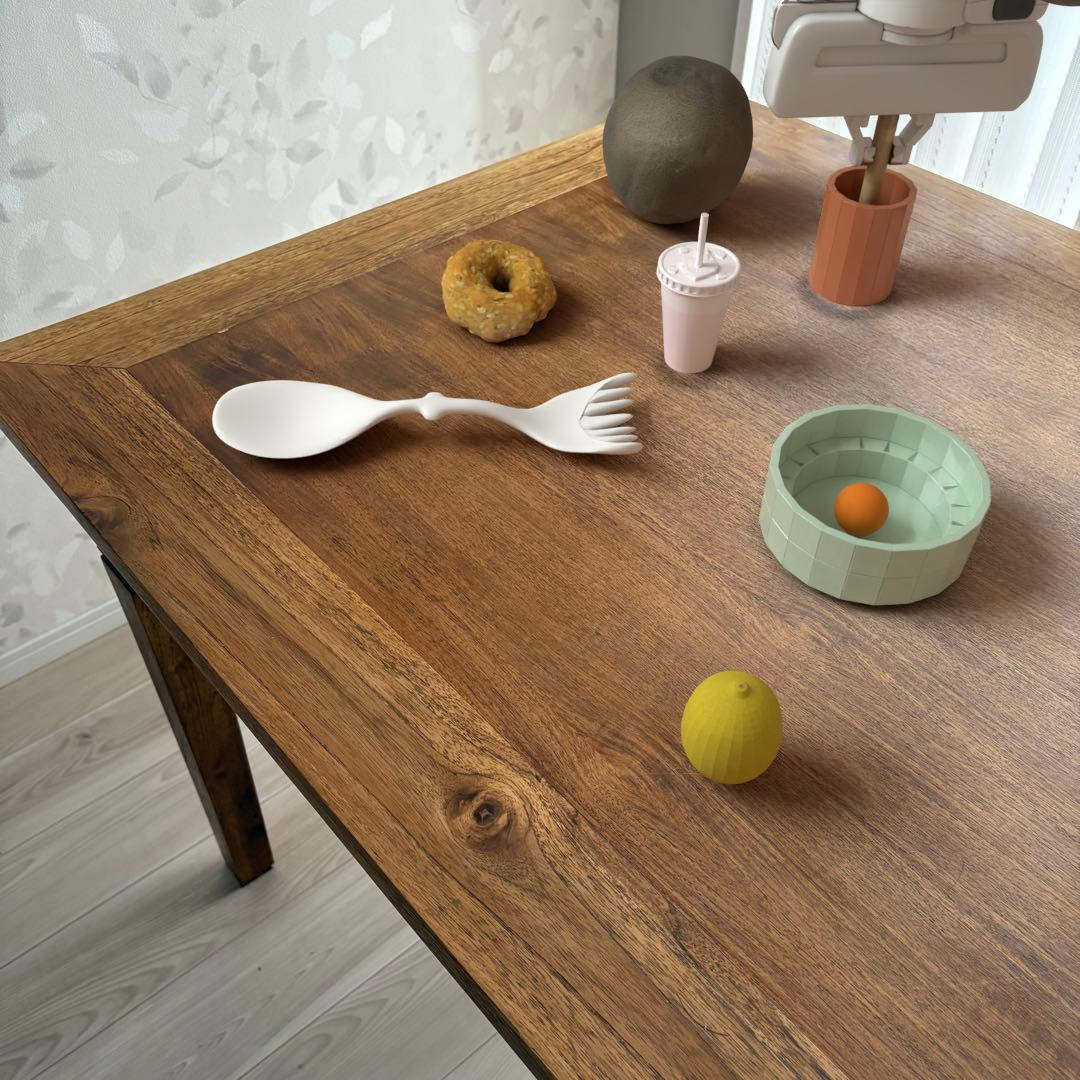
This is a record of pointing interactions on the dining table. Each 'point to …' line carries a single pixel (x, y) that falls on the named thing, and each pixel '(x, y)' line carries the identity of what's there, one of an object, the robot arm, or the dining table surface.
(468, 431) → the dining table surface
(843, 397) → the dining table surface
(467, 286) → the bagel
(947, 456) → the bowl
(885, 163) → the stick
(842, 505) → the ball
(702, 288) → the smoothie
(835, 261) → the crock
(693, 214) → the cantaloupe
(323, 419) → the spoon
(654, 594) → the dining table surface
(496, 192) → the dining table surface
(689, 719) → the lemon
